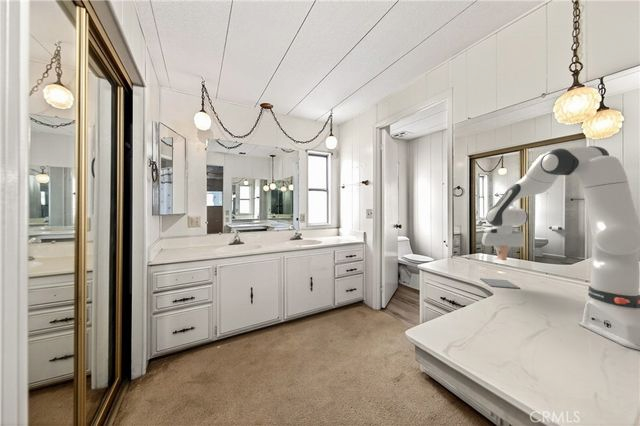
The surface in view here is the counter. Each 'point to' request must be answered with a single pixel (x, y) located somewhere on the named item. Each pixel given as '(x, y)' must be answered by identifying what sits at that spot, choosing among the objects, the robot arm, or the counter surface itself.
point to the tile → (502, 253)
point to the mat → (499, 283)
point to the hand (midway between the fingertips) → (501, 253)
